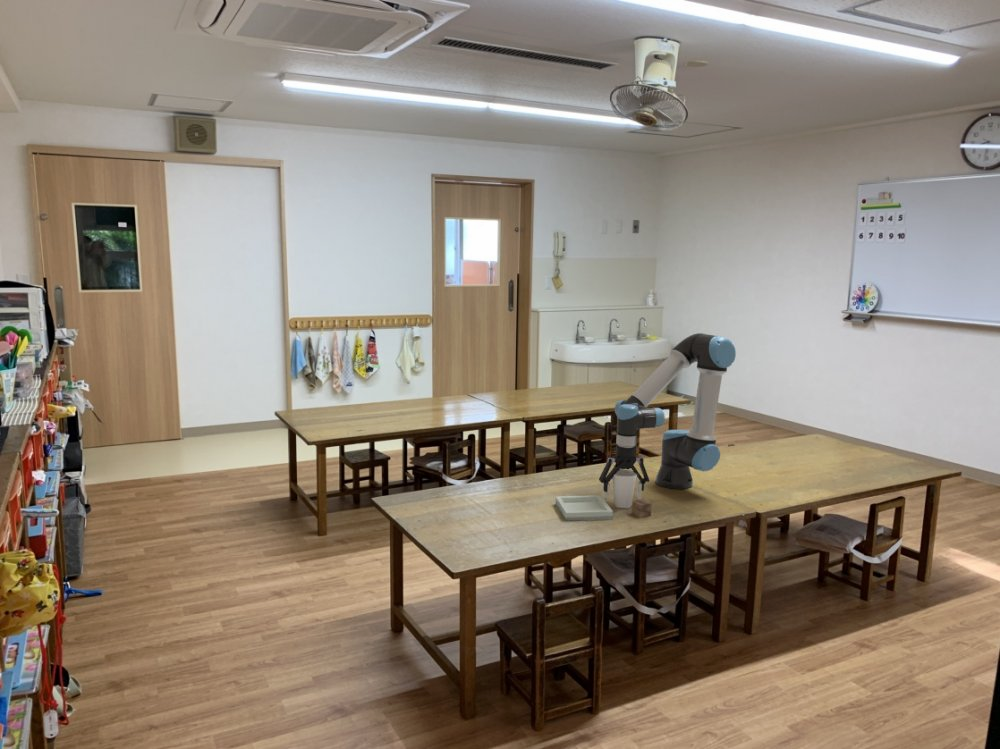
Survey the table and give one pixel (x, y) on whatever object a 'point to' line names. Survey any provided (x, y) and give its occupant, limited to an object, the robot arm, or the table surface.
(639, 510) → the walnut block
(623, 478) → the foam cup
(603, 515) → the tray
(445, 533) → the table surface
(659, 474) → the robot arm
